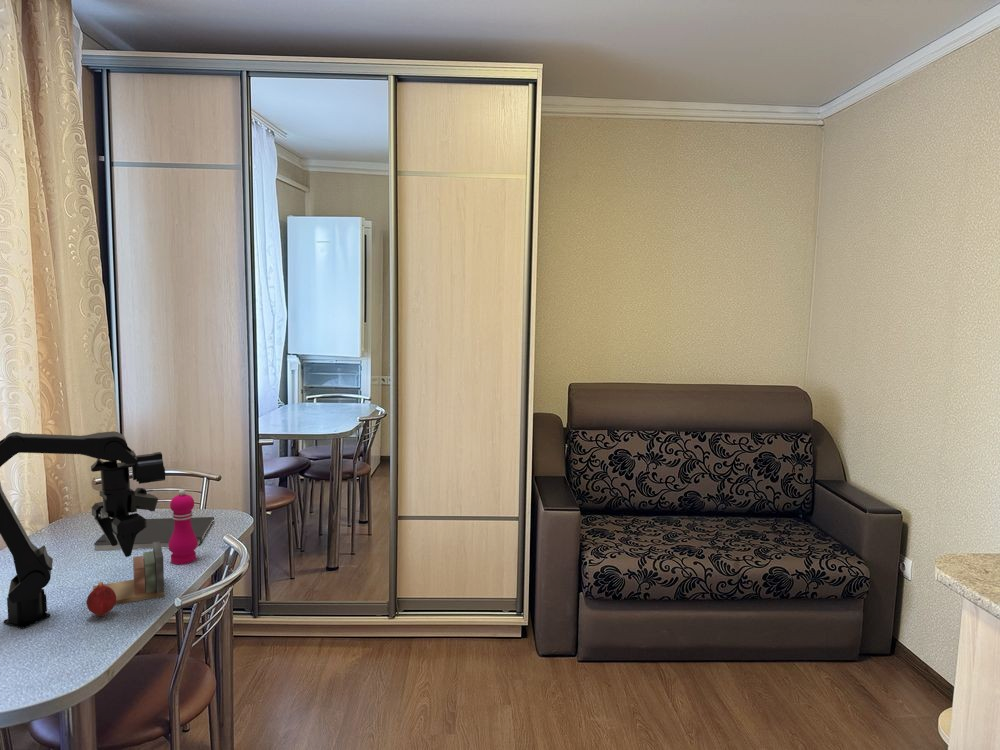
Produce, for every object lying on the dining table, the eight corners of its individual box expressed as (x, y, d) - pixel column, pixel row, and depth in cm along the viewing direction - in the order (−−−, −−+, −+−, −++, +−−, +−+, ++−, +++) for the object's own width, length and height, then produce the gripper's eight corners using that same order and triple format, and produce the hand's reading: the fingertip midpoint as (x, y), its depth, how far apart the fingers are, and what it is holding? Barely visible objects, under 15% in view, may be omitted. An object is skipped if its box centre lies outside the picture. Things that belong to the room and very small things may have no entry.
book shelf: (92, 608, 160) (91, 567, 159) (93, 589, 170) (91, 550, 168) (164, 596, 168) (163, 556, 166) (160, 578, 177) (159, 541, 176)
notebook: (214, 523, 220) (118, 526, 214) (214, 516, 220) (118, 519, 214) (199, 548, 199) (92, 552, 193) (199, 540, 199) (92, 544, 193)
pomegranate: (122, 614, 158) (120, 581, 157) (96, 624, 153) (95, 590, 152) (107, 607, 161) (106, 575, 160) (82, 617, 156) (80, 583, 155)
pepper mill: (186, 566, 185) (185, 494, 183) (163, 563, 186) (161, 491, 184) (203, 556, 192) (202, 486, 190) (180, 553, 193) (178, 484, 191)
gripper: (168, 487, 159) (172, 552, 161) (138, 471, 172) (142, 531, 174) (115, 498, 151) (120, 566, 153) (88, 481, 164) (93, 543, 166)
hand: (121, 550), depth 162 cm, fingers open, 9 cm apart
